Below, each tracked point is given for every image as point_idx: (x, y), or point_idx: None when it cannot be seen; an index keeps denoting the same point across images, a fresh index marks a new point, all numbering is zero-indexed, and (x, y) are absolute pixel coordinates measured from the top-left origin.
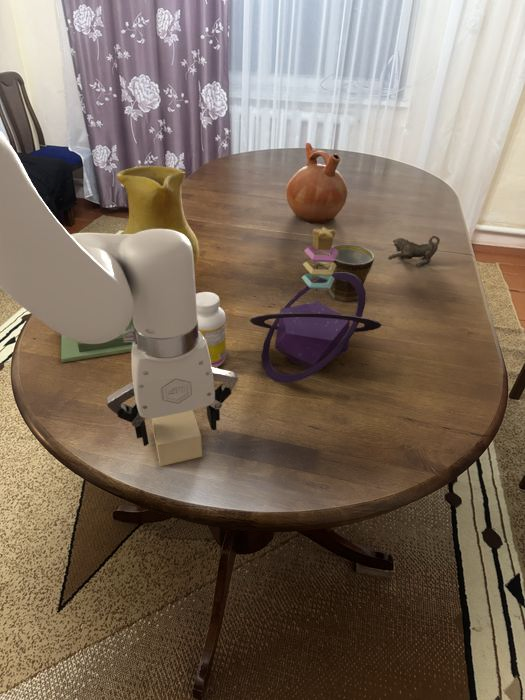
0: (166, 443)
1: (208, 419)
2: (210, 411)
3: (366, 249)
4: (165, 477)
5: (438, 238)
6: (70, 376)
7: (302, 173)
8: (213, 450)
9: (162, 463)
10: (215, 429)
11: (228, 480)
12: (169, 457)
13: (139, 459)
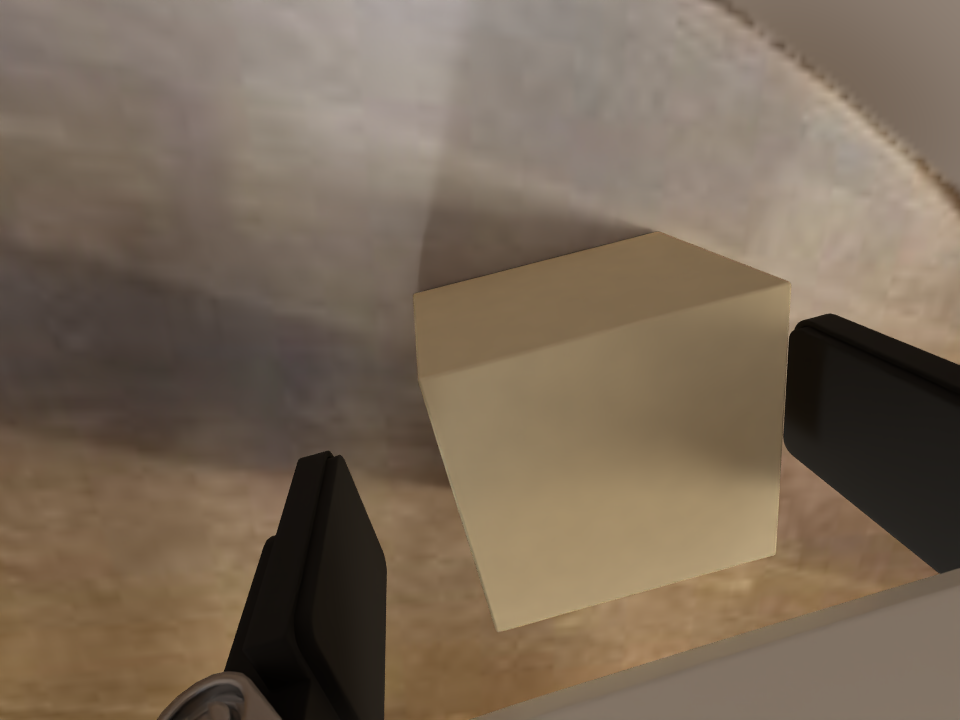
0: (712, 300)
1: (371, 539)
2: (313, 633)
3: None
4: (635, 142)
5: None
6: None
7: None
8: (345, 340)
9: (655, 237)
10: (308, 457)
11: (208, 75)
12: (626, 259)
13: None
